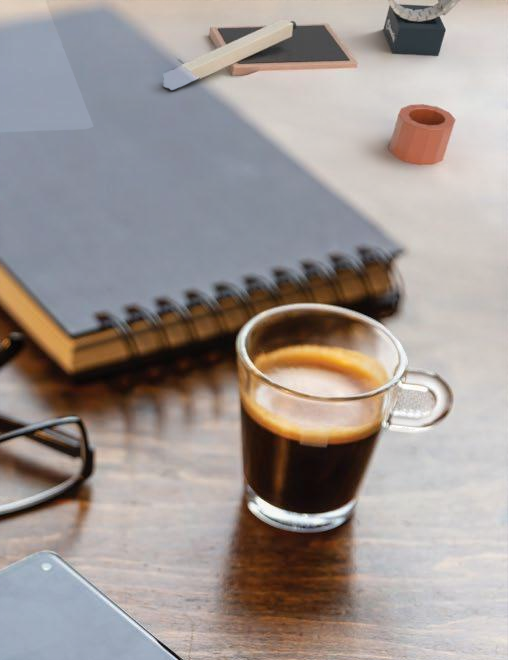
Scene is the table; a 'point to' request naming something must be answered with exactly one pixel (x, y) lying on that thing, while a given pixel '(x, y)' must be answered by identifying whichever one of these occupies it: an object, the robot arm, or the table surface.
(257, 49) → the stylus
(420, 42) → the watch
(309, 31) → the tablet
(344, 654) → the table surface
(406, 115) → the pen holder
